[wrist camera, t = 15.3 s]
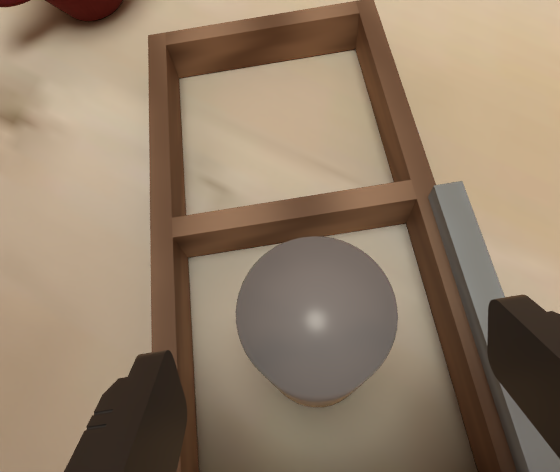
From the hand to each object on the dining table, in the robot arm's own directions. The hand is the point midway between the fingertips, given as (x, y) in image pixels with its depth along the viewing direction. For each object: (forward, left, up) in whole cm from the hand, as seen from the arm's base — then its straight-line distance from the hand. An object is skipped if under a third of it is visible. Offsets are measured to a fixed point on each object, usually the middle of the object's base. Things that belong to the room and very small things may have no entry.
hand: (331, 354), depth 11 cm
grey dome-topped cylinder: (0, +1, -8) cm, 9 cm away
